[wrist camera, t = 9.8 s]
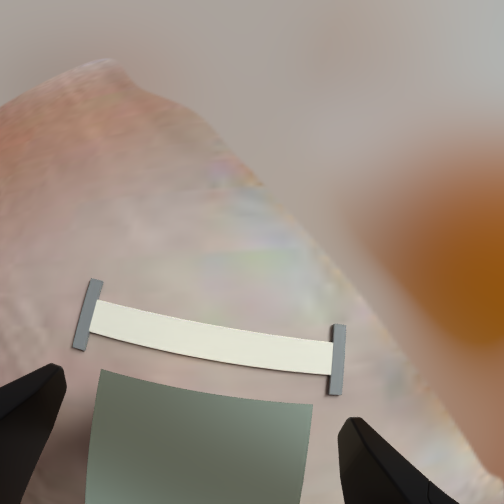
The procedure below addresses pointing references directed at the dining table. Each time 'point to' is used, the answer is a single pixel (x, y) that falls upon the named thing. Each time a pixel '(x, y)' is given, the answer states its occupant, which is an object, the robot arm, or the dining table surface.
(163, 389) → the beige tall block
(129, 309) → the tape line
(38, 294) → the dining table surface
